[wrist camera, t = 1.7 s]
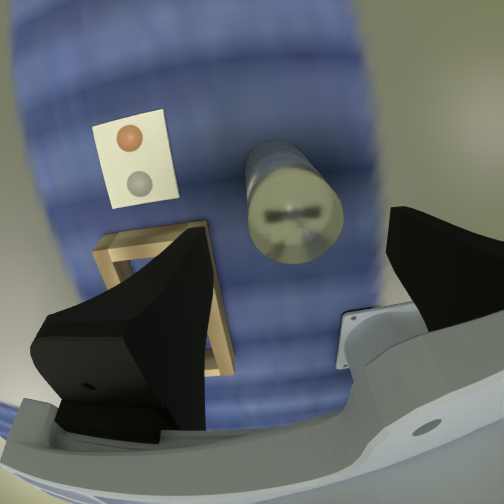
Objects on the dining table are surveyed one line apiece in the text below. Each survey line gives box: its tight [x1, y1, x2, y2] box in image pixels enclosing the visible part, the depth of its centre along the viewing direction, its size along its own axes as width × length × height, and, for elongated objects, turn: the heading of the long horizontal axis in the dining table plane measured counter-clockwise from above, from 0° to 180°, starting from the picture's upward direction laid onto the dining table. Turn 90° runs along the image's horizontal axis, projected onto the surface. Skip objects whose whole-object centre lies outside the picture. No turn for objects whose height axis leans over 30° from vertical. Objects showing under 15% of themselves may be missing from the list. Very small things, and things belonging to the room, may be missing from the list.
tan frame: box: [92, 220, 235, 376], centre depth 24 cm, size 8×14×2 cm, turn 6°
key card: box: [92, 109, 180, 209], centre depth 18 cm, size 5×6×1 cm
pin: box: [245, 140, 344, 264], centre depth 16 cm, size 4×4×8 cm
